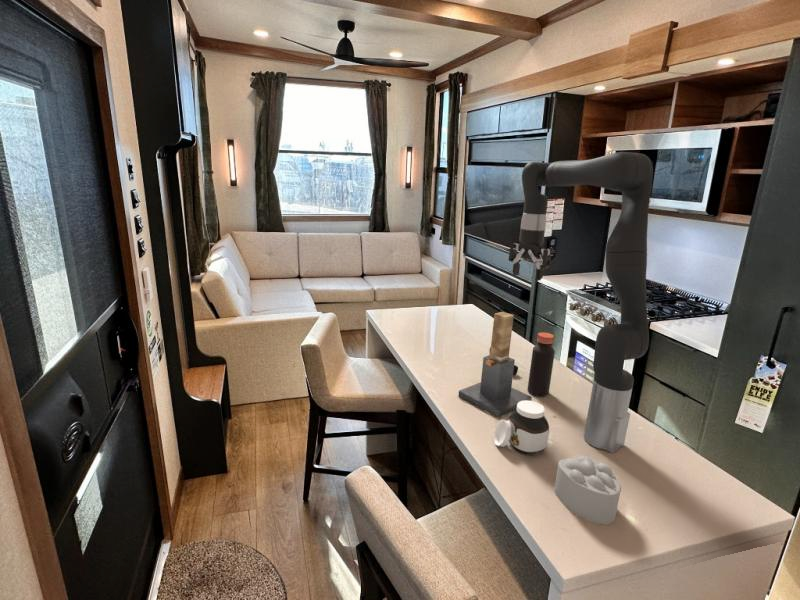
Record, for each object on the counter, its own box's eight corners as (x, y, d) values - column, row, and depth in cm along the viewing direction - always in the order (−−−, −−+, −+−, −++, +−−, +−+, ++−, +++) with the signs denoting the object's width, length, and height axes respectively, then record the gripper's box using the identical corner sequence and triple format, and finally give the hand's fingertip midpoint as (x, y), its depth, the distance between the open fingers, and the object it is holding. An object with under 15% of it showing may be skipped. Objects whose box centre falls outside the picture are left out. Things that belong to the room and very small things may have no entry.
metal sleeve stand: (531, 402, 140) (536, 361, 136) (498, 418, 130) (503, 374, 126) (491, 383, 152) (495, 344, 148) (458, 396, 142) (461, 355, 138)
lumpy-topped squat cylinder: (583, 479, 105) (589, 447, 103) (628, 518, 94) (636, 483, 91) (547, 488, 102) (552, 455, 99) (589, 530, 90) (596, 494, 88)
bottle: (523, 391, 147) (530, 334, 142) (533, 385, 152) (541, 329, 146) (542, 399, 143) (550, 340, 137) (552, 392, 147) (560, 335, 142)
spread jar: (550, 453, 115) (556, 412, 112) (517, 465, 109) (523, 423, 106) (517, 429, 125) (522, 392, 122) (485, 440, 119) (490, 400, 116)
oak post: (506, 376, 139) (513, 315, 133) (498, 379, 136) (505, 317, 131) (496, 371, 142) (502, 311, 136) (487, 375, 139) (494, 313, 134)
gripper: (559, 230, 139) (552, 280, 144) (521, 224, 150) (515, 272, 154) (545, 231, 135) (538, 283, 139) (507, 225, 145) (502, 274, 150)
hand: (526, 277), depth 147 cm, fingers open, 8 cm apart
